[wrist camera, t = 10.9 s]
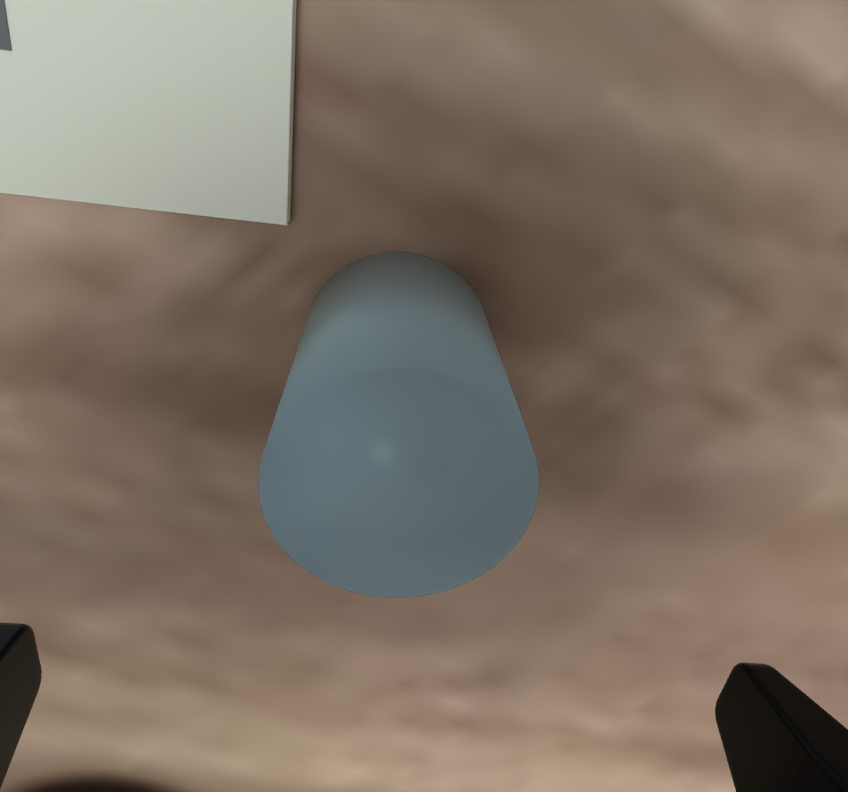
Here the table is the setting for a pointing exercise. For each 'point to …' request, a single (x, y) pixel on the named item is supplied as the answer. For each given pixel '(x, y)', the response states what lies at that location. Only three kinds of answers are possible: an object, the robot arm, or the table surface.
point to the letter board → (150, 104)
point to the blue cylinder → (397, 436)
